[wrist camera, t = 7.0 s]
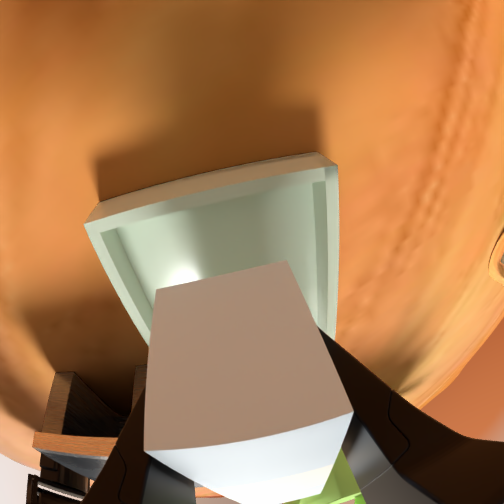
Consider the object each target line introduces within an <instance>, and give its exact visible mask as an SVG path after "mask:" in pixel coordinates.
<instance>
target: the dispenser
mask: <svg viewBox="0 0 504 504" xmlns="http://www.w3.org/2000/svg"><path fill="white" fill-rule="evenodd" d="M147 365H148V364H146V365H138V366H136V368H135V377H134V388H133V399H132V410H133V408H134V406H135V404H136V402H137V400H138V398H139V396H140V394H141V392H142V390H143V388H144V386H145V385H146V378H147ZM128 417H129V416H119V415H118V414H117V413H115V412H114V411H113V410H112V409H111V408H110V407H109V406H108V405H107V404H106V403H104V402H103V401H102V400H101V399H100V398H99V397H98V396H97V395H96V394H95V393H94V392H93V391H92V390H91V389H90V388H89V387H88V386H87V385H86V384H85V383H84V382H83V381H82V380H81V379H80V378H79V377H78V376H77V375H76V374H75V372H63V373H55V376H54V380H53V384H52V387H51V391H50V395H49V399H48V404H47V408H46V412H45V417H44V422H43V427H42V432H35V434H34V440H33V446H32V447H33V448H34V449H36V450H37V451H39V452H41V453H42V454H44V455H46V456H47V457H49V458H51V459H53V460H54V461H56V462H58V463H60V464H61V465H63V466H65V467H67V468H69V469H71V470H73V471H75V472H77V473H79V474H81V475H83V476H85V477H87V478H89V479H91V480H94V481H95V480H96V478H97V476H98V475H99V473H100V471H101V470H102V468H103V466H104V465H105V463H106V461H107V459H108V457H109V455H110V453H111V451H112V449H113V447H114V446H115V443H116V441H117V439H118V437H119V435H120V433H121V431H122V429H123V427H124V425H125V423H126V421H127V419H128ZM194 487H204V486H202V485H200V484H198V483H197V482H195V481H194Z"/></svg>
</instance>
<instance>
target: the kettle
mask: <svg viewBox="0 0 504 504" xmlns="http://www.w3.org/2000/svg"><path fill="white" fill-rule="evenodd" d="M352 499H355V504H366V502H365V500H364V498H363V496H362V493H361V491H360V489H359V487H358V484H357V482H356V480H355V478H354V475H353V473H352V471H351V469H350V466H349V464H348V462H347V460H346V457H345V455H344V453H343V451H342V448H340V451H339V453H338V455H337V458H336V460H335V463H334V465H333V467H332V470H331V472H330V474H329V477H328V479H327V481H326V483H325V485H324V487H323V490H322V492H321V493H320V494H317V495H313V496H310V497H306V498H302V499H298V500H294V501H289V502H285V503H284V504H339V503H342V502H345V501H348V500H352Z"/></svg>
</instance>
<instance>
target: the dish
mask: <svg viewBox="0 0 504 504" xmlns="http://www.w3.org/2000/svg"><path fill="white" fill-rule="evenodd" d="M83 225H84V227H85V229H86V231H87V234H88V236H89V238H90V240H91V243H92V245H93V247H94V249H95V251H96V253H97V255H98V257H99V259H100V261H101V263H102V265H103V267H104V269H105V271H106V273H107V275H108V277H109V279H110V281H111V283H112V285H113V287H114V289H115V291H116V292H117V294H118V296H119V298H120V300H121V301H122V303H123V305H124V307H125V309H126V310H127V312H128V314H129V315H130V317H131V319H132V321H133V322H134V324H135V326H136V327H137V329H138V331H139V332H140V334H141V335H142V337H143V339H144V340H145V342H146V343H147V345H148V347H149V343H150V333H151V324H152V316H153V308H154V300H155V293H156V289H160V288H164V287H169V286H173V285H178V284H183V283H187V282H192V281H196V280H201V279H205V278H210V277H214V276H219V275H223V274H227V273H232V272H236V271H241V270H245V269H249V268H254V267H258V266H262V265H267V264H271V263H275V262H280V261H284V260H287V262H288V264H289V266H290V268H291V270H292V272H293V275H294V277H295V279H296V281H297V283H298V285H299V288H300V290H301V292H302V294H303V296H304V299H305V301H306V303H307V305H308V307H309V310H310V312H311V314H312V316H313V318H314V321H315V323H316V325H317V326H318V327H319V328H320V329H321V330H322V331H324V332H325V333H326V334H327V335H328V336H330V337H331V338H332V339H333V340H334V341H335V331H336V316H337V299H338V274H339V189H338V165H337V164H335V163H334V162H332V161H331V160H329V159H328V158H326V157H324V156H323V155H321V154H320V153H318V152H311V153H305V154H298V155H292V156H286V157H280V158H275V159H269V160H264V161H258V162H253V163H248V164H243V165H238V166H233V167H229V168H224V169H220V170H215V171H211V172H206V173H202V174H198V175H194V176H190V177H186V178H182V179H178V180H174V181H170V182H166V183H163V184H159V185H155V186H152V187H148V188H144V189H141V190H138V191H134V192H131V193H127V194H124V195H121V196H118V197H114V198H111V199H108V200H105V201H102V202H99V203H98V204H97V206H96V207H95V209H94V210H93V211H92V213H91V214H90V216H89V217H88V218H87V220H86V221H85V223H84V224H83Z"/></svg>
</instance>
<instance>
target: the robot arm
mask: <svg viewBox="0 0 504 504" xmlns="http://www.w3.org/2000/svg"><path fill="white" fill-rule="evenodd" d="M317 327H318V326H317ZM318 330H319V332H320V334H321V336H322V339H323V341H324V343H325V345H326V348H327V350H328V352H329V354H330V357H331V359H332V361H333V364H334V366H335V368H336V371H337V373H338V375H339V377H340V380H341V382H342V384H343V387H344V389H345V392H346V394H347V396H348V399H349V401H350V403H351V406H352V408H353V411H354V413H353V415H352V418H351V421H350V424H349V427H348V430H347V432H346V435H345V438H344V440H343V443H342V445H341V448H342V451H343V453H344V455H345V457H346V460H347V462H348V464H349V466H350V469H351V471H352V473H353V475H354V478H355V480H356V482H357V484H358V487H359V489H360V491H361V493H362V496H363V498H364V500H365V502H366V504H504V442H499V441H490V440H481V439H474V438H470V437H466V436H463V435H461V434H459V433H457V432H455V431H453V430H451V429H450V428H448V427H446V426H445V425H443V424H442V423H440V422H438V421H437V420H435V419H433V418H432V417H430V416H428V415H427V414H425V413H424V412H422V411H421V410H419V409H418V408H416V407H415V406H413V405H412V404H411V403H409V402H408V401H407V400H405V399H404V398H403V397H401V396H400V395H399V394H398V393H397V392H395V391H394V390H391V388H390V387H389V386H388V385H387V384H386V383H384V382H383V381H382V380H381V379H380V378H378V377H377V376H376V375H375V374H374V373H372V372H371V371H370V370H369V369H368V368H366V367H365V366H364V365H363V364H362V363H360V362H359V361H358V360H357V359H356V358H354V357H353V356H352V355H351V354H350V353H348V352H347V351H346V350H345V349H344V348H343V347H341V346H340V345H339V344H338V343H337V342H335V341H334V340H333V339H332V338H331V337H330V336H328V335H327V334H326V333H325V332H324V331H322V330H321V329H320V328H319V327H318ZM145 394H146V385H145V386H144V388H143V390H142V392H141V394H140V396H139V398H138V400H137V402H136V404H135V406H134V408H133V410H132V412H131V413H130V415H129V417H128V419H127V421H126V423H125V425H124V427H123V429H122V431H121V433H120V435H119V437H118V439H117V441H116V443H115V446H114V447H113V449H112V451H111V453H110V455H109V457H108V459H107V461H106V463H105V465H104V466H103V468H102V470H101V471H100V473H99V475H98V476H97V478H96V480H95V481H94V483H93V484H92V486H91V488H90V479H89V478H87V477H85V476H83V475H81V474H79V473H77V472H75V471H73V470H71V469H69V468H67V467H65V466H63V465H61V464H60V463H58V462H56V461H54V460H53V459H51V458H49V457H47V456H46V455H44V454H42V453H41V459H40V467H41V474H40V477H38V476H37V475H31V474H28V483H27V497H26V504H196V498H195V487H194V481H193V480H191V479H189V478H187V477H185V476H184V475H182V474H180V473H178V472H177V471H175V470H173V469H172V468H170V467H168V466H167V465H165V464H163V463H162V462H160V461H158V460H157V459H155V458H154V457H152V456H151V455H149V454H148V453H146V452H145V451H144V416H145ZM38 484H39V485H41V486H44V487H47V488H50V489H52V490H55V491H58V492H61V493H64V494H67V495H71V496H74V497H77V498H81V499H83V500H82V501H79V500H75V499H72V498H68V497H65V496H62V495H59V494H56V493H53V492H50V491H47V490H45V489H41V488H39V487H38ZM37 494H38V495H37Z"/></svg>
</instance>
